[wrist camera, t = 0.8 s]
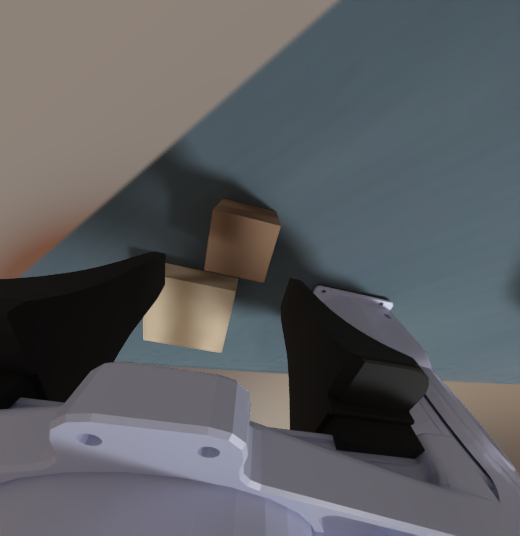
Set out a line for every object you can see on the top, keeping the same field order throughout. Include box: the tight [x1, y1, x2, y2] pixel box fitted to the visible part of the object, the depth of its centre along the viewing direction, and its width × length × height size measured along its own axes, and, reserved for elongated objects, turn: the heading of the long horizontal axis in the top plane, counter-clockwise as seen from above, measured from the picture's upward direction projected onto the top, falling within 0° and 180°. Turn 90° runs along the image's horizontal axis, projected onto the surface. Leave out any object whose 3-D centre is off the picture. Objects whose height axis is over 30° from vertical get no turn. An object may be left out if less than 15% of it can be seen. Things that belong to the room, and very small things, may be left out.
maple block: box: [143, 263, 238, 353], centre depth 23 cm, size 9×9×3 cm
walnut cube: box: [204, 198, 281, 283], centre depth 18 cm, size 5×5×5 cm
